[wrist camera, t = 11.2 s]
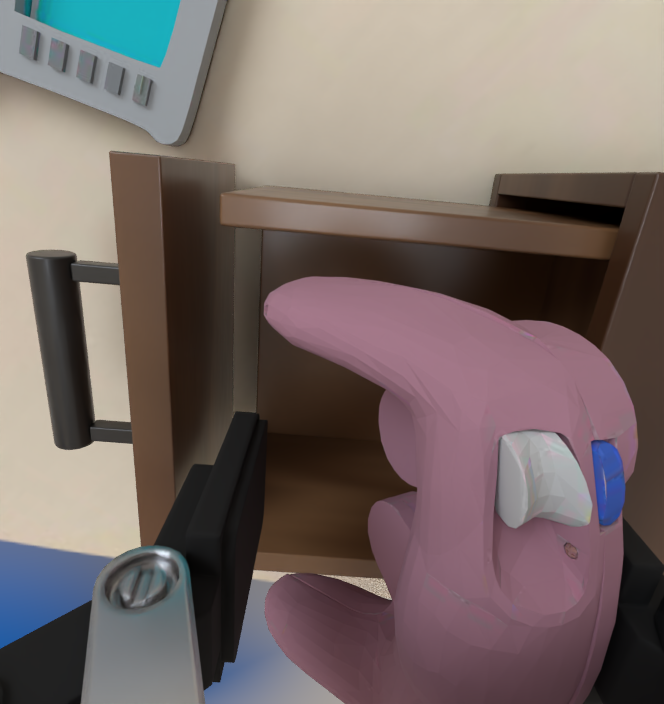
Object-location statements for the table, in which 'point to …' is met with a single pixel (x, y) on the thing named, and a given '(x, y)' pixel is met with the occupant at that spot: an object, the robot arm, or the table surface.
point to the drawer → (273, 349)
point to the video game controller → (467, 503)
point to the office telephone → (116, 55)
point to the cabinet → (621, 308)
